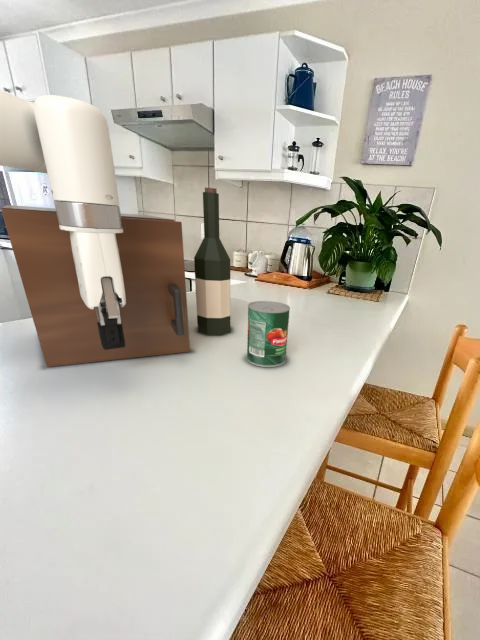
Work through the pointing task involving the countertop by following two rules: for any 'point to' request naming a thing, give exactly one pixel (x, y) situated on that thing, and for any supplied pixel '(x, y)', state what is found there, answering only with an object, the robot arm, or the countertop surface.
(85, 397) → the countertop surface
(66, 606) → the countertop surface
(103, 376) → the countertop surface
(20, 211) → the cupboard door
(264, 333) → the canned tomato
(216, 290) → the wine bottle
